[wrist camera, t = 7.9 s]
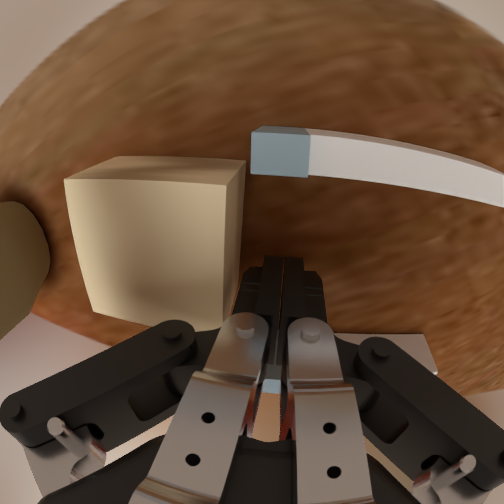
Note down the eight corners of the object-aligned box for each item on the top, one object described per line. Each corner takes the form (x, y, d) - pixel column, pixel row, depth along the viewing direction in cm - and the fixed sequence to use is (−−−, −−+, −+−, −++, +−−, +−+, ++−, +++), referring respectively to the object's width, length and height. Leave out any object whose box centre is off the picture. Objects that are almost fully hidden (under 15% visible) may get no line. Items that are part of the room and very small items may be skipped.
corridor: (479, 162, 9) (524, 183, 6) (416, 347, 15) (430, 390, 12) (262, 125, 10) (251, 132, 7) (255, 342, 16) (247, 390, 13)
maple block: (246, 159, 11) (226, 185, 8) (239, 281, 14) (222, 339, 11) (119, 155, 12) (63, 179, 8) (131, 265, 15) (93, 311, 11)
